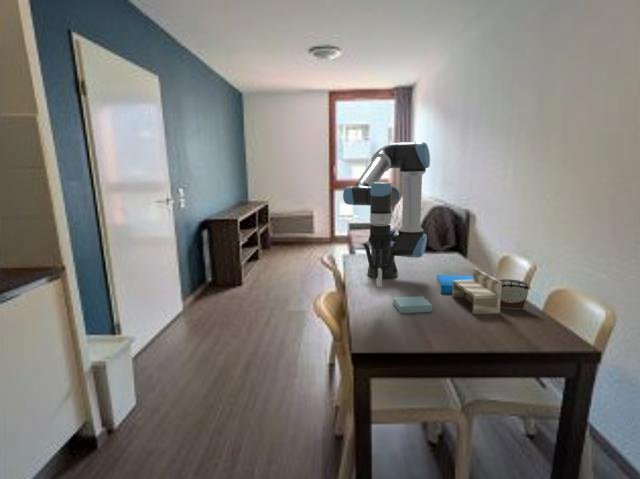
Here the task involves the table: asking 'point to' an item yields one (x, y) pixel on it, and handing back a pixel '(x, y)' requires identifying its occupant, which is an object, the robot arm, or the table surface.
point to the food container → (513, 294)
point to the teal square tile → (412, 304)
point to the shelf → (479, 292)
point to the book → (449, 282)
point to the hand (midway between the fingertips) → (379, 285)
